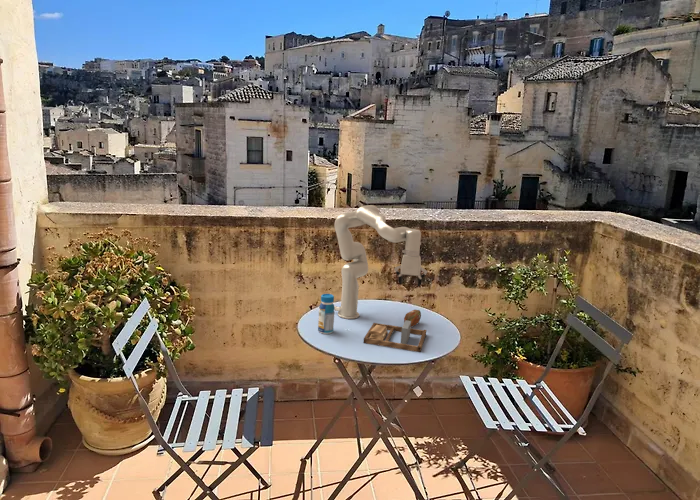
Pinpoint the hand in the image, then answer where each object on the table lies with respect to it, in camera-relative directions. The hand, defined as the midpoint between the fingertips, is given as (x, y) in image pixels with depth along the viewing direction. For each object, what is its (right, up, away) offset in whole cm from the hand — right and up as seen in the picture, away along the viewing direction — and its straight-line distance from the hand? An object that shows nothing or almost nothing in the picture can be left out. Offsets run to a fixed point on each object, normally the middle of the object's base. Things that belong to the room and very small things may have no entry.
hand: (409, 284), depth 285 cm
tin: (+3, -24, +21) cm, 32 cm away
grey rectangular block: (-3, -29, -2) cm, 29 cm away
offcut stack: (-16, -28, +1) cm, 32 cm away
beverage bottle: (-44, -25, +3) cm, 51 cm away
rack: (-8, -28, -1) cm, 29 cm away
